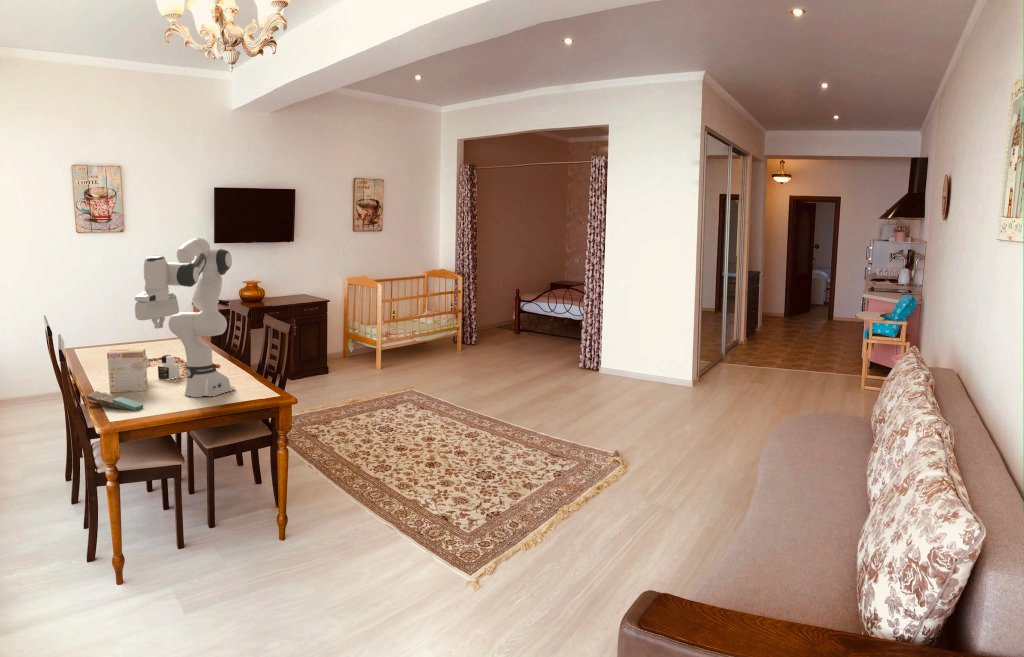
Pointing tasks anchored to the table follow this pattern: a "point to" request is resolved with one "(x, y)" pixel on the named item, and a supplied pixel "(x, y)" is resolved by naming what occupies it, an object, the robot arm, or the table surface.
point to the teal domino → (127, 403)
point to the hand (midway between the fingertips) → (158, 328)
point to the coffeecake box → (127, 370)
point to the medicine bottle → (168, 368)
